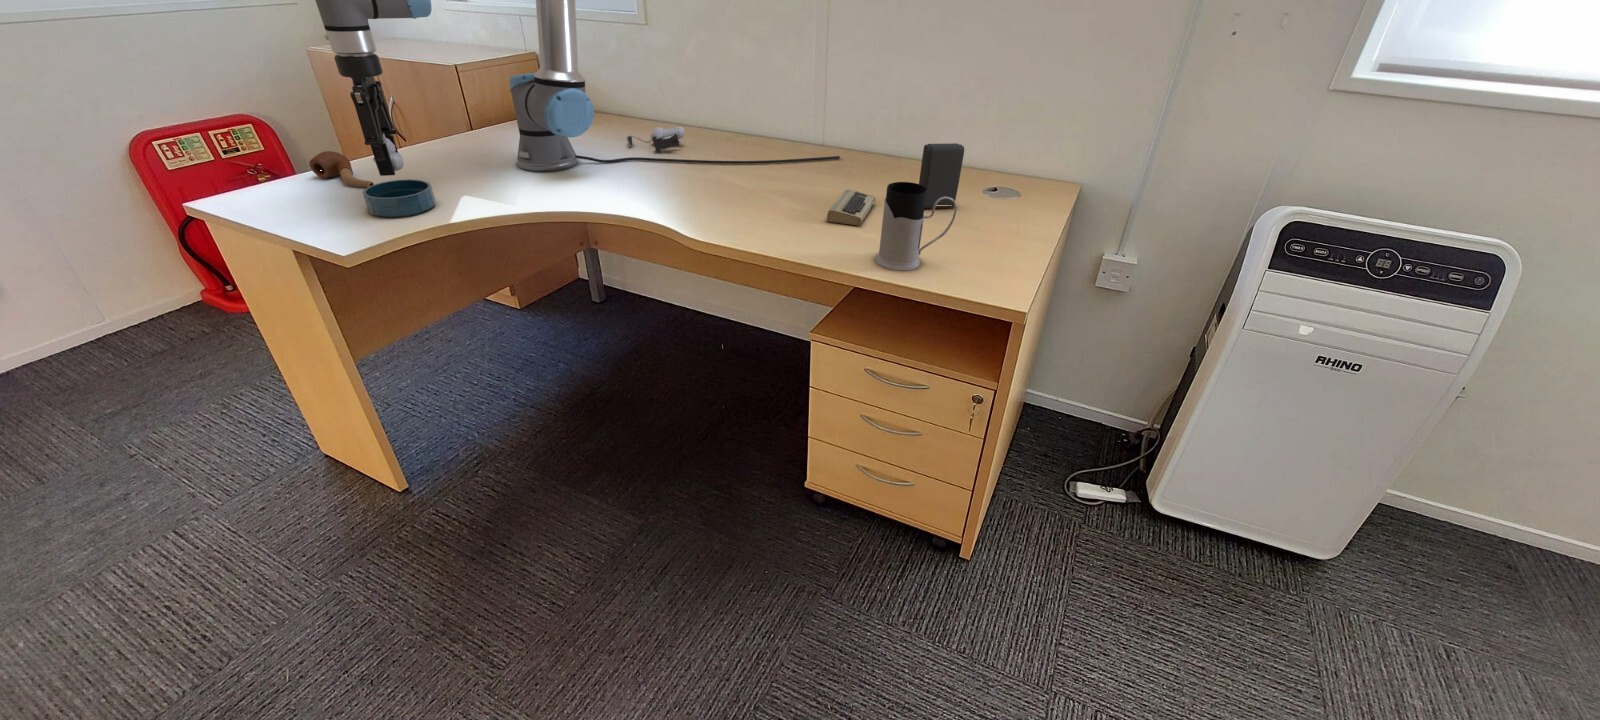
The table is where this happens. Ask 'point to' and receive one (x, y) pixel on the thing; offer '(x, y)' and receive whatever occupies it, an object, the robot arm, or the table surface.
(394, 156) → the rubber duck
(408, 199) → the bowl
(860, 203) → the computer
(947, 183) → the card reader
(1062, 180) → the table surface
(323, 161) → the pipe
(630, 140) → the clip-on lamp
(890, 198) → the glass holder
